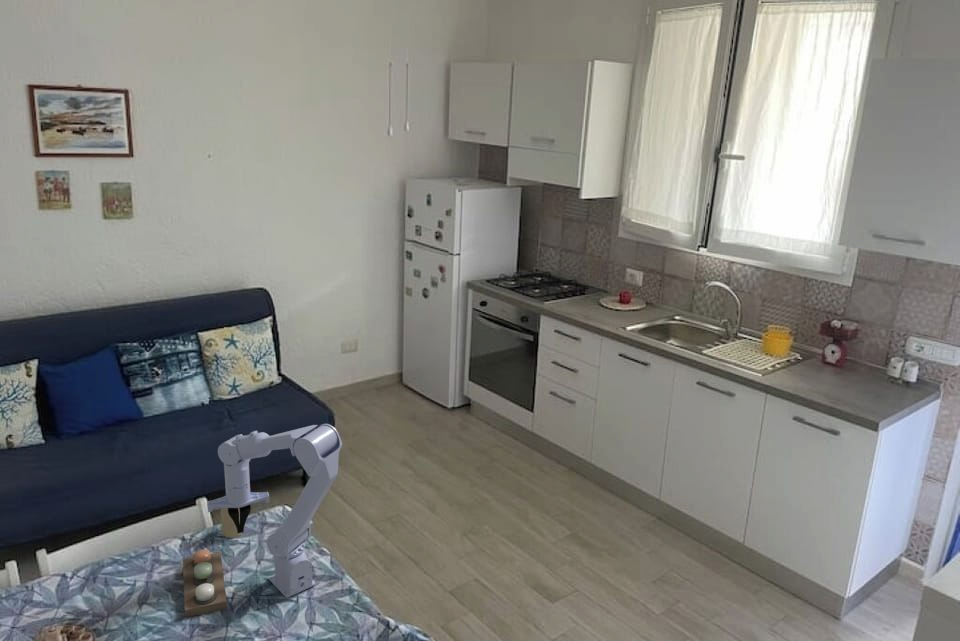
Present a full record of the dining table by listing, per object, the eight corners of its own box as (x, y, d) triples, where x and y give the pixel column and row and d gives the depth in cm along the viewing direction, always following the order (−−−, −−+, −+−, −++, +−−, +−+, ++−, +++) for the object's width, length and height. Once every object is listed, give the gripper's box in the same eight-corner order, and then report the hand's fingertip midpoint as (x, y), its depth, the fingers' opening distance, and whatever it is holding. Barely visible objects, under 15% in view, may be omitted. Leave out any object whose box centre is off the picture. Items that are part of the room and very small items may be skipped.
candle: (239, 538, 193) (237, 506, 190) (219, 537, 193) (216, 505, 190) (246, 527, 198) (244, 495, 195) (226, 526, 198) (224, 494, 195)
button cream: (214, 598, 166) (214, 592, 165) (196, 602, 164) (195, 596, 164) (213, 588, 169) (213, 581, 169) (195, 591, 168) (195, 585, 167)
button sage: (212, 576, 172) (212, 570, 171) (194, 580, 170) (194, 574, 169) (211, 567, 175) (211, 560, 175) (194, 570, 174) (193, 564, 173)
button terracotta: (211, 563, 178) (210, 557, 177) (194, 566, 176) (193, 560, 176) (210, 554, 181) (209, 548, 181) (193, 557, 180) (192, 551, 179)
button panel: (227, 608, 167) (226, 600, 166) (185, 617, 163) (184, 609, 162) (221, 558, 184) (220, 551, 183) (183, 565, 181) (182, 557, 180)
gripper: (266, 470, 182) (268, 517, 186) (205, 479, 177) (208, 527, 181) (269, 484, 176) (271, 532, 180) (206, 493, 171) (210, 543, 175)
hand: (240, 530), depth 180 cm, fingers closed
